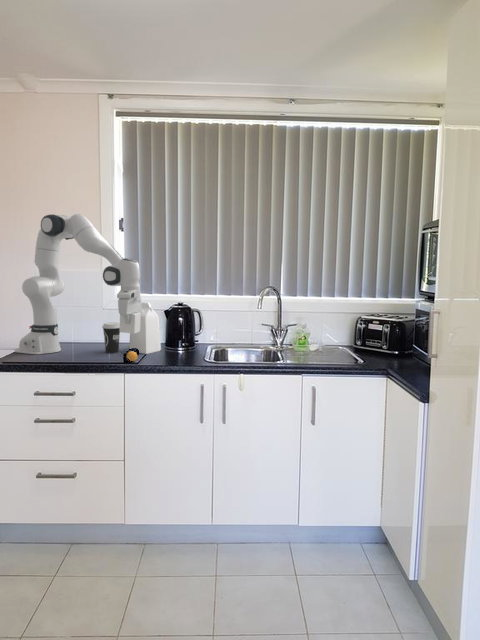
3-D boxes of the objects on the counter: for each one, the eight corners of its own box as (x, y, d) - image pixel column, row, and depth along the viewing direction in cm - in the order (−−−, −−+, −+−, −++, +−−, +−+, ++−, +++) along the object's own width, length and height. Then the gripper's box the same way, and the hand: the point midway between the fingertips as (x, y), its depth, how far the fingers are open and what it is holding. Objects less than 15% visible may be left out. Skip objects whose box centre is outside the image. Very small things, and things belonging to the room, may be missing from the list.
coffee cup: (110, 354, 234) (109, 325, 232) (98, 351, 240) (98, 323, 238) (125, 351, 242) (124, 323, 240) (113, 349, 247) (113, 321, 245)
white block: (119, 332, 213) (120, 313, 212) (125, 329, 221) (126, 311, 219) (134, 333, 212) (135, 314, 211) (140, 331, 220) (140, 313, 218)
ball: (135, 352, 215) (135, 362, 216) (138, 350, 220) (138, 360, 220) (124, 351, 216) (125, 362, 216) (128, 349, 220) (129, 360, 221)
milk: (160, 350, 246) (160, 302, 243) (146, 353, 236) (145, 303, 233) (144, 347, 252) (143, 301, 249) (129, 351, 242) (128, 302, 239)
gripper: (132, 291, 225) (133, 319, 226) (115, 294, 205) (116, 325, 206) (144, 292, 224) (145, 320, 226) (128, 295, 204) (129, 325, 205)
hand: (131, 322), depth 216 cm, fingers closed on white block, 7 cm apart
